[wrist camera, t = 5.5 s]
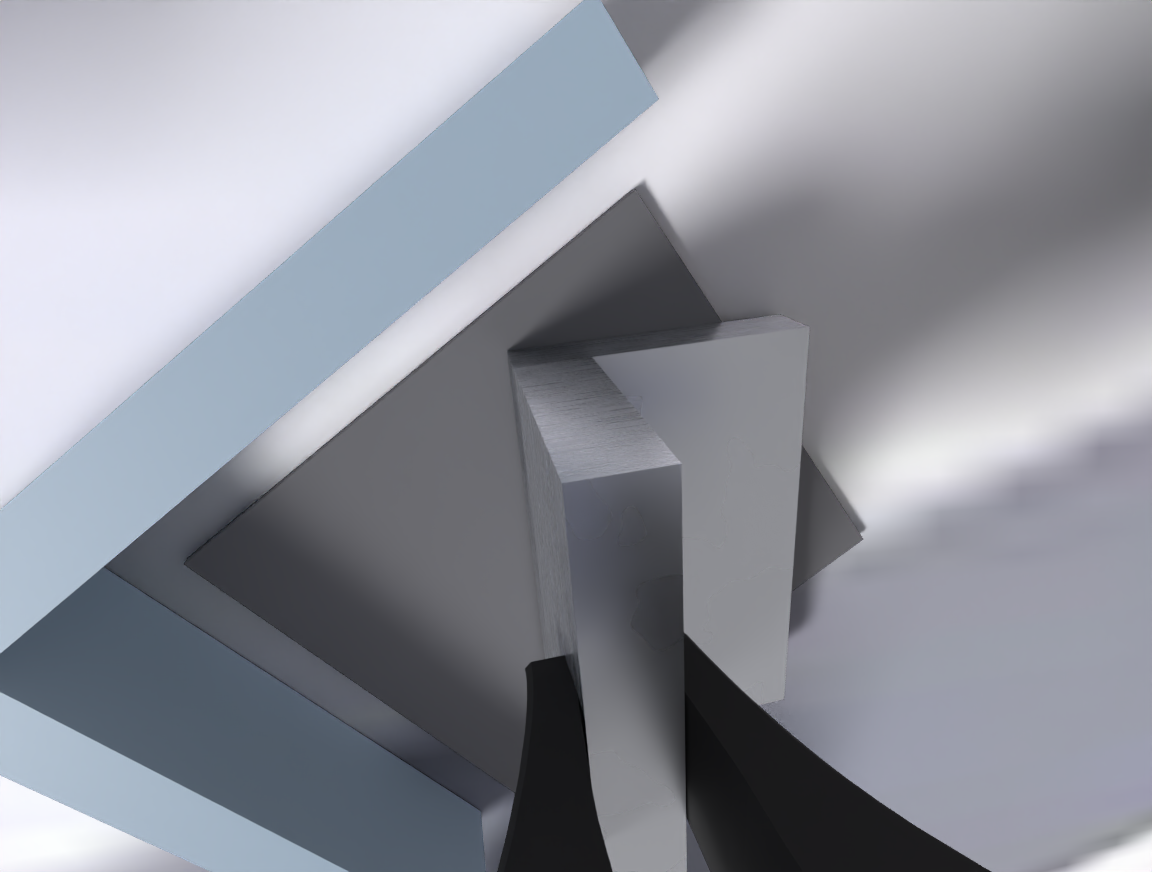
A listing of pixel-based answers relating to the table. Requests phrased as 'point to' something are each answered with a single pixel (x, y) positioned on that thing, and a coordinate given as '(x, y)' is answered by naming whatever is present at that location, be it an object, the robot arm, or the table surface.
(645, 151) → the table surface
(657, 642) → the angle bracket
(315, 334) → the corner walls
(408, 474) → the pad
